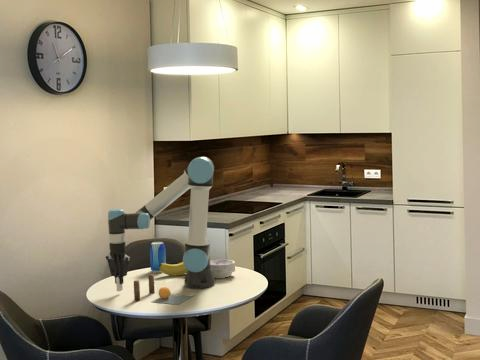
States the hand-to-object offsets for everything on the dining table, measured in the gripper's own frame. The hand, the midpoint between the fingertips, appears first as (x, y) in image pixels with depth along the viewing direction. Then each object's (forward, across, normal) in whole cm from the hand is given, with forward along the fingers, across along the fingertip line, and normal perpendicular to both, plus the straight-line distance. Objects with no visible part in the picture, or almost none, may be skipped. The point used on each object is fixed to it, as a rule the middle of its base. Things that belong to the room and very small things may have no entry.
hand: (119, 290), depth 288 cm
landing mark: (+2, -29, 0) cm, 29 cm away
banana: (+2, -9, -43) cm, 44 cm away
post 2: (+2, -14, -6) cm, 15 cm away
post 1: (+2, -14, +6) cm, 15 cm away
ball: (-1, -25, 0) cm, 25 cm away
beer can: (+2, +7, -47) cm, 48 cm away
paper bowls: (+2, -32, -46) cm, 56 cm away
